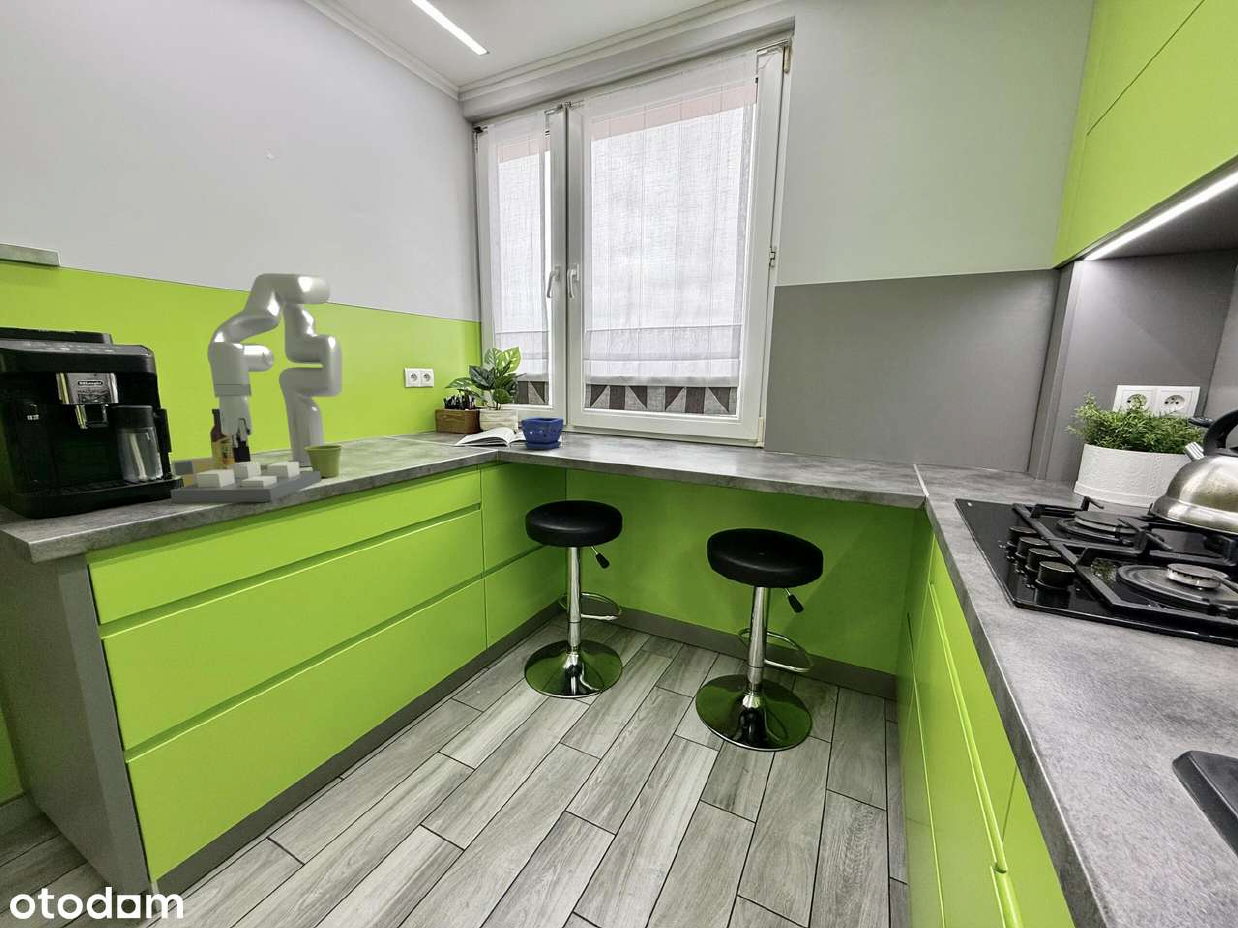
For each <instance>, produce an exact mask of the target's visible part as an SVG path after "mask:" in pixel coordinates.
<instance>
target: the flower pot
mask: <svg viewBox="0 0 1238 928" xmlns="http://www.w3.org/2000/svg"><path fill="white" fill-rule="evenodd" d="M520 422H521V424H520V425H521V430H522V433H523V436H524V438H525V441H526V442H525V443H524V446H525V447H526V448H527V449H534V450H543V449H544V450H545V451H548V450H552V449H555V448H559V447H560V446H561V444H562V443H563V442H562V441H559V440H560V438H561V435H562V433H563V427H564V418H560V417H529V418H524V419H521V421H520Z"/></svg>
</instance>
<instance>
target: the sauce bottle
mask: <svg viewBox="0 0 1238 928" xmlns="http://www.w3.org/2000/svg"><path fill="white" fill-rule="evenodd" d="M211 414H212V415H213V424H214V425H213V426H212V428H211V430H210V433H209V434H210V436H209V437H210V447H211V449H210V450H211V457H212V458H213V464H214V470H227V466H228V465H232V464H236V462H235V461H234V455H233V448H232V447H233V446H232V440H231V437H229V436H226V435H224V434H222V430H221V420H220V410H219V407H218V408H211Z"/></svg>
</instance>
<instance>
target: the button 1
mask: <svg viewBox="0 0 1238 928" xmlns="http://www.w3.org/2000/svg"><path fill="white" fill-rule="evenodd" d="M196 477H197V483H198V487H223V486H226V485H229V484H232V483H235V479H234V472H233V470H209V471H205V472H201V473H197V474H196Z"/></svg>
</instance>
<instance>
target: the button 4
mask: <svg viewBox="0 0 1238 928" xmlns="http://www.w3.org/2000/svg"><path fill="white" fill-rule="evenodd" d="M266 469H267V471H268V476H276V478H290V477H293V476H296V475H299V474H300V471H301V470H300V467H299V463H298V462H288V461H279V462H275V463H271V464H269V465H267V468H266Z"/></svg>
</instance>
